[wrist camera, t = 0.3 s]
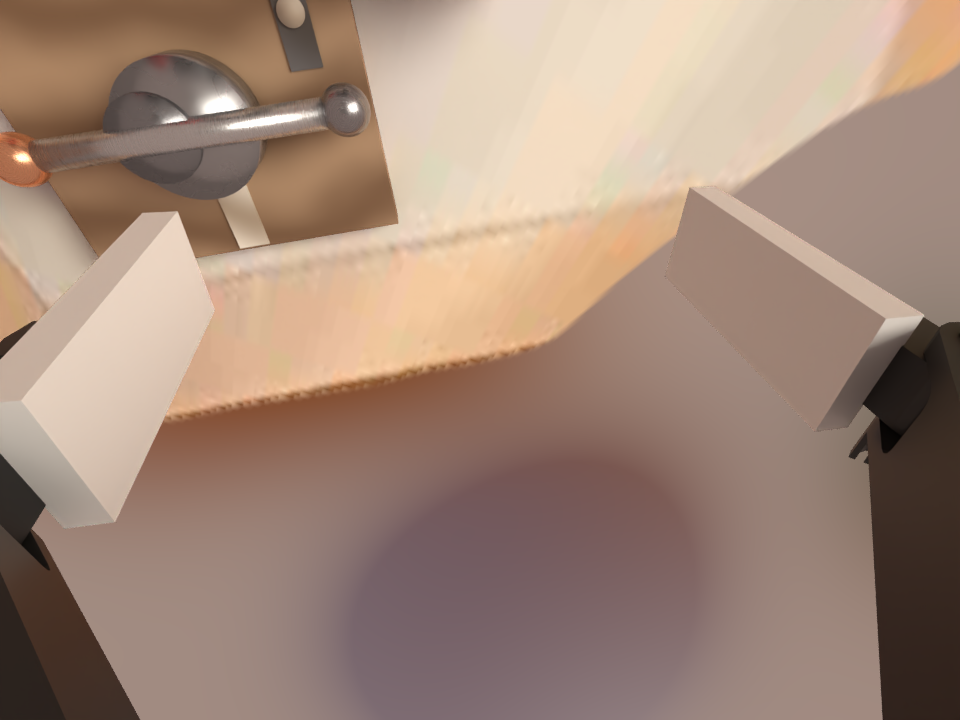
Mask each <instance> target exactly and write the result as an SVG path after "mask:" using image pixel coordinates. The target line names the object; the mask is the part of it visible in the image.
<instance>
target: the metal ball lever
mask: <svg viewBox="0 0 960 720" xmlns="http://www.w3.org/2000/svg"><path fill="white" fill-rule="evenodd" d="M370 116H371V110H370V105H369V102H368V99H367V98H366V96H365V94H364V93H363V92H362V91H361V90H360V89H359V88H358V87H356V86H355V85H353V84H350V83H346V82H338V83H334V84H332V85H330V86H329V87H328V88H327V89H326V90H325V91H324V92H323V94H322V96H321V97H316V98H309V99H303V100H296V101H290V102H283V103H276V104H270V105H263V106H260V103H259V102H258V100H257V98H256V96H255V95H254V93H253V92H252V90H251V89H250V87H249V86H248V85H247V84H246V83H245V81H244V80H243V79H242V78H241V77H240V76H239V75H238V74H237V73H235V72H234V71H233V70H232V69H230V68H229V67H228V66H227V65H225V64H223V63H222V62H220V61H218V60H217V59H215V58H212V57H210V56H208V55H205V54H202V53H200V52H196V51H191V50H182V49H176V50H167V51H163V52H159V53H156V54H154V55H151V56H148V57H145V58H143V59H140V60H138V61H135V62H133V63H132V64H130V65H129V66H127V67H126V68H125V69H124V70H123V71H122V72H121V73H120V74H119V75H118V77H117V78H116V79H115V81H114V83H113V86H112V88H111V91H110V95H109V104H108V107H107V108H106V111H105V113H104V116H103V130H97V131H90V132H83V133H77V134H70V135H63V136H57V137H50V138H43V139H37V140H36V139H34V138H32V137H30V136H28V135H25V134H22V133H18V132H2V133H0V179H2V180H3V181H5V182H7V183H10V184H12V185H15V186H20V187H36V186H40V185H42V184H44V183H46V182H47V181H48V180H49V179H50V178H51V177H52V175H53V172H59V171H66V170H72V169H79V168H85V167H92V166H98V165H105V164H111V163H117V162H120V163H121V164H122V165H123V166H125V167H126V168H127V169H128V170H130V171H131V172H132V173H134V174H136V175H137V176H139V177H141V178H143V179H145V180H148V181H151V182H154V183H155V184H157V185H159V186H160V187H162V188H164V189H166V190H168V191H170V192H172V193H175V194H177V195H180V196H183V197H187V198H192V199H199V200H212V199H219V198H224V197H227V196H229V195H232V194H234V193H236V192H237V191H239V190H240V189H241V188H243V187H244V186H245V185H246V184H247V183H248V182H249V181H250V179H251V177H252V176H253V174H254V173H255V171H256V169H257V168H258V166H259V164H260V163H261V161H262V159H263V157H264V154H265V151H266V147H267V140H268V139H272V138H279V137H285V136H292V135H298V134H304V133H311V132H317V131H324V130H331V131H332V132H333V133H335V134H337V135H339V136H342V137H354V136H357V135H359V134H361V133H362V132H363V131H364V130H365V129H366V128H367V126H368V124H369V121H370Z"/></svg>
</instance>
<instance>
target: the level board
mask: <svg viewBox="0 0 960 720" xmlns="http://www.w3.org/2000/svg"><path fill="white" fill-rule="evenodd" d="M176 49H182V50H191V51H196V52H200V53H202V54H205V55H208V56H210V57H212V58H215V59H217V60H218V61H220V62H222V63H223V64H225V65H227V66H228V67H229V68H230V69H232V70H233V71H234V72H235V73H237V74H238V75H239V76H240V77H241V78H242V79H243V80H244V81H245V83H246V84H247V85H248V86H249V87H250V89H251V90H252V92H253V93H254V95H255V96H256V98H257V100H258V102H259V103H260V106H263V105H270V104H276V103H283V102H290V101H296V100H303V99H309V98H316V97H321V96H322V94H323V92H324V91H325V90H326V89H327V88H328V87H329V86H330V85H332V84H334V83H338V82H346V83H350V84H353V85H355V86H356V87H358V88H359V89H360V90H361V91H362V92H363V93H364V94H365V96H366V98H367V99H368V102H369V105H370V110H371V116H370V121H369V124H368V126H367V128H366V129H365V130H364V131H363V132H362V133H361V134H359V135H357V136H354V137H342V136H339V135H337V134H335V133H333V132H332V131H331V130H324V131H317V132H311V133H304V134H298V135H292V136H285V137H279V138H272V139H268V140H267V147H266V151H265V154H264V157H263V159H262V161H261V163H260V164H259V166H258V168H257V169H256V171H255V173H254V174H253V176H252V177H251V179H250V181H249V182H248V183H247V184H246V185H245V186H244V187H243V188H241V189H240V190H239V191H237V192H236V193H234V194H232V195H229V196H227V197H224V198H219V199H212V200H199V199H192V198H187V197H183V196H180V195H177V194H175V193H172V192H170V191H168V190H166V189H164V188H162V187H160V186H159V185H157V184H155V183H154V182H151V181H148V180H145V179H143V178H141V177H139V176H137V175H136V174H134V173H132V172H131V171H130V170H128V169H127V168H126V167H125V166H123V165H122V164H121V163H120V162H117V163H111V164H105V165H98V166H92V167H85V168H79V169H72V170H66V171H59V172H53V175H52V177H51V178H50V179H49V180H48V181H49V183H50V184H51V186H52V187H53V189H54V190H55V192H56V193H57V195H58V196H59V198H60V199H61V201H62V202H63V204H64V206H65V207H66V209H67V210H68V212H69V213H70V215H71V216H72V218H73V219H74V221H75V222H76V224H77V225H78V227H79V228H80V230H81V231H82V233H83V234H84V236H85V237H86V239H87V240H88V242H89V243H90V245H91V246H92V248H93V249H94V251H95V252H96V254H97V255H98V257H100V256H101V255H102V254H103V253H104V252H105V251H106V250H107V249H108V248H109V247H110V246H111V245H112V244H113V243H114V242H115V241H116V240H117V239H118V238H119V237H120V236H121V235H122V234H123V233H124V231H125V230H126V229H127V228H128V227H129V226H130V225H131V224H132V223H133V222H134V221H135V220H136V219H137V218H138V217H139V216H140V215H141V214H142V213H151V212H173V211H178V214H179V216H180V219H181V222H182V224H183V227H184V230H185V232H186V235H187V238H188V240H189V243H190V245H191V248H192V251H193V253H194V256H195V258H198V257H204V256H209V255H215V254H221V253H227V252H233V251H239V250H245V249H251V248H257V247H262V246H268V245H274V244H280V243H286V242H292V241H298V240H304V239H310V238H315V237H321V236H327V235H333V234H339V233H345V232H351V231H357V230H363V229H368V228H374V227H380V226H386V225H392V224H398V215H397V210H396V205H395V200H394V196H393V191H392V187H391V182H390V178H389V173H388V169H387V164H386V159H385V155H384V150H383V146H382V141H381V137H380V132H379V128H378V123H377V118H376V114H375V109H374V105H373V100H372V96H371V91H370V86H369V82H368V77H367V73H366V68H365V64H364V59H363V55H362V50H361V45H360V41H359V36H358V32H357V27H356V23H355V18H354V14H353V9H352V4H351V0H0V109H1V110H2V112H3V113H4V115H5V116H6V118H7V119H8V121H9V122H10V124H11V125H12V127H13V128H14V130H15V131H16V132H18V133H22V134H25V135H28V136H30V137H32V138H34V139H36V140H37V139H43V138H50V137H57V136H63V135H70V134H77V133H83V132H90V131H97V130H103V116H104V113H105V111H106V108H107V107H108V104H109V95H110V91H111V88H112V86H113V83H114V81H115V79H116V78H117V77H118V75H119V74H120V73H121V72H122V71H123V70H124V69H125V68H126V67H127V66H129V65H130V64H132V63H133V62H135V61H138V60H140V59H143V58H145V57H148V56H151V55H154V54H156V53H159V52H163V51H167V50H176Z"/></svg>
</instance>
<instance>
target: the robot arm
mask: <svg viewBox="0 0 960 720" xmlns="http://www.w3.org/2000/svg"><path fill="white" fill-rule="evenodd" d="M665 277H666V278H667V279H668V281H669V282H670V283H671V284H672V285H673V286H674V287H675V288H676V289H677V290H678V291H679V292H680V293H681V294H682V295H683V296H684V297H685V298H686V299H687V300H688V301H689V302H690V303H691V304H692V305H693V306H694V307H695V308H696V309H697V310H698V311H699V313H700V314H701V315H702V316H703V317H704V318H705V319H706V320H707V321H708V322H709V323H710V324H711V325H712V326H713V327H714V328H715V329H716V330H717V331H718V332H719V333H720V334H721V335H722V336H723V337H724V338H725V339H726V340H727V341H728V342H729V343H730V345H731V346H732V347H733V348H734V349H735V350H736V351H737V352H738V353H739V354H740V355H741V356H742V357H743V358H744V359H745V360H746V361H747V362H748V363H749V364H750V365H751V366H752V367H753V368H754V369H755V370H756V371H757V372H758V373H759V375H760V376H761V377H763V379H765V381H766V382H767V383H768V384H769V385H770V386H771V387H772V388H773V389H774V390H775V391H776V392H777V393H778V394H779V395H780V396H781V397H782V398H783V399H784V400H785V401H786V402H787V403H788V404H789V405H790V407H791V408H793V410H794V411H795V412H796V413H797V414H798V415H799V416H800V417H801V418H802V419H803V420H804V421H805V422H806V423H807V424H808V425H809V426H810V427H811V428H812V429H813V430H814V431H815V432H816V431H824V430H832V429H840V428H847V427H848V426H849V425H850V423H851V422H852V420H853V419H854V418H855V416H856V415H857V413H858V412H859V410H860V409H861V407H862V406H863V405H865V406H866V407H867V408H868V409H869V410H871V412H873V413H874V414H875V415H876V417H875V418H874V420H873V421H872V422H871V424H870V425H869V427H868V428H867V429H866V431H865V432H864V433H863V435H862V436H861V438H860V439H859V440H858V442H857V443H856V444H855V446H854V447H853V449H852V450H851V452H850V455H849V457H850V458H853V459H855V458H856V457H857V455H858V454H859V453H860V452H863V451H865V450H866V451H868V457H867V458H866V459H865V461H864V463H867V464H869V479H870V497H871V513H872V514H871V515H872V532H873V533H872V534H873V551H874V570H875V586H876V587H875V588H876V606H877V623H878V641H879V659H880V677H881V696H882V715H883V720H960V322H949V323H946V324H944V325H942V326H941V327H938V326H937V325H935V324H934V323H932V322H930V321H929V320H927V319H926V318H924V314H922V313H920V312H919V311H917V310H915V309H914V308H912V307H910V306H909V305H907V304H906V303H904V302H902V301H901V300H899V299H897V298H896V297H894V296H893V295H891V294H889V293H887V292H886V291H884V290H883V289H881V288H880V287H878V286H876V285H875V284H873V283H872V282H870V281H868V280H867V279H865V278H863V277H862V276H860V275H859V274H857V273H855V272H854V271H852V270H851V269H849V268H847V267H846V266H844V265H842V264H841V263H839V262H838V261H836V260H834V259H833V258H831V257H829V256H828V255H826V254H825V253H823V252H821V251H820V250H818V249H816V248H815V247H813V246H812V245H810V244H808V243H807V242H805V241H803V240H802V239H800V238H799V237H797V236H795V235H794V234H792V233H790V232H789V231H787V230H786V229H784V228H782V227H780V226H779V225H777V224H776V223H774V222H772V221H771V220H769V219H768V218H766V217H764V216H763V215H761V214H760V213H758V212H756V211H755V210H753V209H751V208H750V207H748V206H747V205H745V204H743V203H742V202H740V201H739V200H737V199H735V198H734V197H732V196H730V195H729V194H727V193H726V192H724V191H722V190H721V189H719V188H717V187H716V186H707V187H690V188H689V191H688V195H687V199H686V202H685V206H684V209H683V213H682V217H681V220H680V224H679V227H678V231H677V235H676V238H675V242H674V245H673V249H672V252H671V256H670V260H669V263H668V267H667V271H666V274H665ZM214 311H215V309H214V306H213V304H212V301H211V298H210V296H209V293H208V290H207V288H206V285H205V282H204V280H203V277H202V275H201V272H200V269H199V267H198V264H197V261H196V259H195V256H194V253H193V251H192V248H191V245H190V243H189V240H188V238H187V235H186V232H185V230H184V227H183V224H182V222H181V219H180V216H179V214H178V211H173V212H151V213H142V214H141V215H140V216H139V217H138V218H137V219H136V220H135V221H134V222H133V223H132V224H131V225H130V226H129V227H128V228H127V229H126V230H125V231H124V233H123V234H122V235H121V236H120V237H119V238H118V239H117V240H116V241H115V242H114V243H113V244H112V245H111V246H110V247H109V248H108V249H107V250H106V251H105V252H104V253H103V254H102V255H101V256H100V257H99V258H98V259H97V260H96V261H95V262H94V263H93V264H92V266H91V267H90V268H89V269H88V270H87V271H86V272H85V273H84V274H83V275H82V276H81V277H80V278H79V279H78V280H77V281H76V282H75V283H74V284H73V285H72V286H71V287H70V288H69V289H68V290H67V291H66V292H65V293H64V294H63V295H62V296H61V298H60V299H59V300H58V301H57V302H56V303H55V304H54V305H53V306H52V307H51V308H50V309H49V310H48V311H47V312H46V313H45V314H44V315H43V316H42V317H41V318H40V319H39V320H38V321H33V322H31V323H29V324H28V325H26V326H24V327H23V328H21V329H19V330H17V331H16V332H14V333H12V334H11V335H9V336H7V337H6V338H4V339H3V340H2V341H1V342H0V720H140V719H139V717H138V715H137V713H136V711H135V709H134V707H133V706H132V704H131V702H130V700H129V698H128V696H127V695H126V693H125V691H124V689H123V687H122V685H121V684H120V682H119V680H118V678H117V676H116V675H115V672H114V671H113V669H112V667H111V665H110V663H109V661H108V660H107V658H106V656H105V654H104V652H103V650H102V649H101V647H100V645H99V643H98V641H97V640H96V637H95V636H94V634H93V632H92V630H91V628H90V627H89V625H88V623H87V621H86V619H85V617H84V615H83V613H82V612H81V610H80V608H79V606H78V604H77V603H76V601H75V599H74V597H73V595H72V593H71V591H70V589H69V588H68V586H67V584H66V582H65V580H64V579H63V577H62V575H61V573H60V571H59V569H58V567H57V566H56V564H55V562H54V560H53V558H52V556H51V554H50V553H49V551H48V549H47V547H46V545H45V543H44V542H43V540H42V539H41V538H40V537H39V536H38V535H37V534H36V533H35V532H34V531H33V530H32V529H31V528H32V527H33V525H34V524H35V522H36V520H37V519H38V517H39V515H40V514H41V512H42V511H43V509H44V507H45V508H46V509H47V510H48V511H49V512H50V514H51V515H52V516H53V517H54V518H55V519H56V520H57V521H58V523H60V525H61V526H62V527H63V528H64V529H66V528H74V527H82V526H90V525H97V524H105V523H113V522H115V521H116V519H117V517H118V515H119V513H120V511H121V508H122V506H123V504H124V502H125V500H126V498H127V496H128V493H129V491H130V489H131V487H132V485H133V483H134V481H135V479H136V477H137V475H138V472H139V470H140V468H141V466H142V464H143V462H144V460H145V457H146V455H147V453H148V451H149V449H150V447H151V445H152V443H153V440H154V438H155V436H156V434H157V432H158V430H159V428H160V426H161V424H162V422H163V419H164V417H165V415H166V413H167V411H168V409H169V407H170V405H171V402H172V400H173V398H174V396H175V394H176V392H177V390H178V388H179V385H180V383H181V381H182V379H183V377H184V375H185V373H186V371H187V368H188V366H189V364H190V362H191V360H192V358H193V356H194V354H195V352H196V349H197V347H198V345H199V343H200V341H201V339H202V337H203V335H204V332H205V330H206V328H207V326H208V324H209V322H210V320H211V318H212V315H213V313H214Z"/></svg>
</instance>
